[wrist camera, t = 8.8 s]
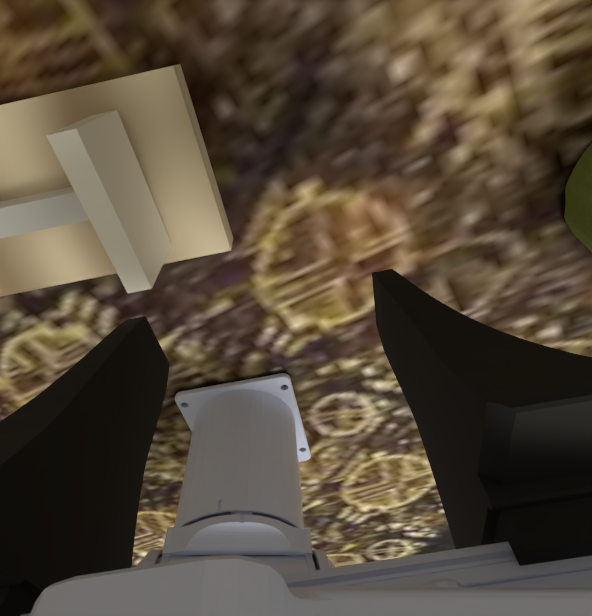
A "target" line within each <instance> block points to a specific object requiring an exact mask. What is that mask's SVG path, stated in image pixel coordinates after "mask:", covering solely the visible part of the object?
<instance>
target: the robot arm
mask: <svg viewBox="0 0 592 616" xmlns="http://www.w3.org/2000/svg"><path fill="white" fill-rule="evenodd" d="M372 278H373V289H374V301H375V312H376V324H377V328H378V332H379V335H380V338H381V342H382V345H383V348H384V351H385V354H386V356H387V358H388V360H389V363H390V365H391V367H392V369H393V372H394V374H395V376H396V378H397V380H398V382H399V385H400V387H401V389H402V391H403V393H404V395H405V398H406V400H407V402H408V404H409V406H410V409H411V411H412V414H413V416H414V418H415V421H416V424H417V427H418V430H419V433H420V436H421V439H422V442H423V445H424V448H425V451H426V454H427V457H428V460H429V463H430V466H431V469H432V472H433V476H434V479H435V482H436V485H437V488H438V492H439V495H440V498H441V501H442V505H443V508H444V511H445V514H446V518H447V521H448V524H449V528H450V531H451V535H452V538H453V542H454V545H455V548H456V549H454V550H448V551H441V552H434V553H428V554H421V555H414V556H408V557H401V558H394V559H388V560H381V561H374V562H368V563H361V564H354V565H348V566H341V567H335V566H334V565H333V563H332V562H331V561H330V560H329V559H328V557H327V555H326V553H325V552H324V551H322V550H312V544H311V533H310V530H309V529H304V524H303V510H302V497H301V483H300V470H299V462H301V461H306V460H309V459H310V458H311V452H310V448H309V445H308V441H307V437H306V434H305V430H304V426H303V423H302V419H301V415H300V412H299V408H298V404H297V401H296V397H295V394H294V390H293V386H292V383H291V379H290V376H289V375H288V374H285V373H281V374H275V375H270V376H264V377H259V378H253V379H248V380H242V381H236V382H231V383H225V384H220V385H214V386H209V387H203V388H198V389H192V390H186V391H181V392H178V393H177V394H176V396H175V402H176V404H177V405H178V407H179V409H180V411H181V413H182V415H183V417H184V419H185V420H186V422H187V424H188V426H189V428H190V430H191V432H192V438H191V443H190V448H189V453H188V458H187V464H186V469H185V474H184V479H183V484H182V490H181V495H180V500H179V505H178V510H177V516H176V521H175V526H174V528H168V529H167V533H166V538H165V543H164V548H163V550H151V551H149V552H148V553H147V555H146V556H145V558H144V559H142V560H141V561H140V562H139V563H138V564H137V566H136V567H133V568H131V565H132V556H133V546H134V536H135V528H136V521H137V513H138V506H139V499H140V493H141V487H142V481H143V475H144V469H145V465H146V461H147V457H148V453H149V449H150V446H151V442H152V439H153V435H154V432H155V428H156V425H157V422H158V418H159V415H160V411H161V407H162V404H163V400H164V397H165V393H166V387H167V380H168V371H169V362H168V360H167V358H166V356H165V354H164V352H163V350H162V348H161V346H160V344H159V342H158V341H157V339H156V337H155V335H154V333H153V331H152V329H151V327H150V325H149V323H148V321H147V319H146V317H139V318H134V319H129V320H126V321H125V322H123V323H122V324H121V325H119V326H118V327H117V328H116V329H115V330H113V331H112V332H111V333H110V334H109V335H108V336H107V337H105V338H104V339H103V340H102V341H101V342H100V343H99V344H98V345H97V346H95V347H94V348H93V349H92V350H91V351H90V352H89V353H88V354H87V355H85V356H84V357H83V358H82V359H81V360H80V361H79V362H78V363H76V364H75V365H74V366H73V367H72V368H71V369H69V370H68V371H67V372H66V373H65V374H63V375H62V376H61V377H60V378H59V379H57V380H56V381H55V382H54V383H53V384H52V385H50V386H49V387H48V388H47V389H45V390H44V391H43V392H41V393H40V394H39V395H37V396H36V397H35V398H33V399H32V400H31V401H29V402H28V403H26V404H25V405H24V406H22V407H21V408H20V409H18V410H17V411H15V412H14V413H12V414H11V415H9V416H8V417H6V418H5V419H3V420H2V421H0V616H592V357H587V356H582V355H577V354H573V353H569V352H565V351H562V350H558V349H554V348H550V347H547V346H543V345H540V344H536V343H533V342H530V341H527V340H524V339H521V338H518V337H515V336H512V335H510V334H507V333H504V332H501V331H499V330H496V329H494V328H491V327H489V326H487V325H484V324H482V323H480V322H478V321H475V320H473V319H471V318H469V317H467V316H465V315H463V314H461V313H459V312H457V311H455V310H454V309H452V308H450V307H448V306H446V305H445V304H443V303H441V302H440V301H438V300H436V299H435V298H433V297H431V296H430V295H428V294H427V293H425V292H424V291H422V290H421V289H419V288H418V287H417V286H415V285H414V284H412V283H411V282H409V281H408V280H407V279H405V278H404V277H403V276H401V275H400V274H398V273H397V272H396V271H394V270H393V269H389V270H384V271H379V272H374V273H372ZM282 385H286V386H282Z"/></svg>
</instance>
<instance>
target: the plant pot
mask: <svg viewBox="0 0 592 616" xmlns="http://www.w3.org/2000/svg"><path fill="white" fill-rule="evenodd" d="M565 196H566V204H565V214H564V218H565V221H566V223H567V225H568V227H569V228H570V230H571V231H572V232H573V234H574V235H575V236H576V237H577V238H578V239H579V240H580V241H581V242H582V243H583V244H584V245H585V246H586V247H587V248H588V249H589V250H590V251H591V252H592V143H591V145H590V146H589V147H588V148H587V149H586V151H585V152H584V153H583V155H582V156H581V157H580V159H579V160H578V162H577V164H576V165H575V167H574V169H573V171H572V173H571V175H570V177H569V179H568V182H567V185H566V189H565Z"/></svg>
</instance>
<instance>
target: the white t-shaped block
mask: <svg viewBox="0 0 592 616" xmlns="http://www.w3.org/2000/svg"><path fill="white" fill-rule="evenodd" d="M46 137H47V138H48V140H49V142H50V144H51V146H52V148H53V150H54V152H55V154H56V156H57V158H58V160H59V162H60V164H61V166H62V167H63V169H64V171H65V173H66V175H67V177H68V179H69V181H70V183H71V185H72V187H67V188H63V189H58V190H53V191H49V192H44V193H39V194H35V195H30V196H25V197H21V198H16V199H11V200H7V201H2V202H0V238H5V237H10V236H15V235H20V234H24V233H29V232H34V231H39V230H44V229H48V228H53V227H58V226H63V225H68V224H72V223H77V222H82V221H87V220H90V222H91V224H92V225H93V227H94V229H95V231H96V233H97V235H98V237H99V239H100V241H101V243H102V245H103V247H104V249H105V251H106V253H107V254H108V256H109V258H110V260H111V262H112V264H113V266H114V268H115V270H116V272H117V274H118V276H119V278H120V280H121V282H122V283H123V285H124V287H125V289H126V291H127V293H132V292H138V291H143V290H148V289H152V287H153V285H154V283H155V281H156V278H157V276H158V274H159V272H160V270H161V268H162V266H163V263H164V261H165V259H166V257H167V255H168V253H169V251H170V248H171V246H172V244H171V242H170V239H169V237H168V234H167V232H166V230H165V227H164V225H163V222H162V220H161V217H160V215H159V212H158V210H157V207H156V205H155V202H154V200H153V198H152V195H151V193H150V190H149V188H148V185H147V183H146V180H145V178H144V175H143V173H142V170H141V168H140V165H139V163H138V161H137V158H136V156H135V153H134V151H133V148H132V146H131V143H130V141H129V138H128V136H127V133H126V131H125V129H124V126H123V124H122V121H121V119H120V116H119V114H118V111H117V110H114V111H110V112H105V113H101V114H96V115H92V116H90V117H88V118H85V119H83V120H81V121H78V122H76V123H74V124H71V125H69V126H67V127H64V128H62V129H60V130H57V131H55V132H53V133H50V134H48V135H46Z"/></svg>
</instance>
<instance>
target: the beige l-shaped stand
mask: <svg viewBox="0 0 592 616" xmlns="http://www.w3.org/2000/svg"><path fill="white" fill-rule="evenodd" d="M114 110H117V111H118V114H119V116H120V119H121V121H122V124H123V126H124V129H125V131H126V133H127V136H128V138H129V141H130V143H131V146H132V148H133V151H134V153H135V156H136V158H137V161H138V163H139V165H140V168H141V170H142V173H143V175H144V178H145V180H146V183H147V185H148V188H149V190H150V193H151V195H152V198H153V200H154V202H155V205H156V207H157V210H158V212H159V215H160V217H161V220H162V222H163V225H164V227H165V230H166V232H167V234H168V237H169V239H170V242H171V244H172V246H171V248H170V251H169V253H168V255H167V257H166V259H165V261H164V263H163V264H166V263H171V262H176V261H181V260H186V259H191V258H196V257H201V256H206V255H211V254H216V253H221V252H226V251H231V248H232V242H233V235H232V232H231V229H230V226H229V222H228V219H227V216H226V212H225V209H224V206H223V203H222V199H221V196H220V193H219V189H218V186H217V183H216V179H215V176H214V173H213V170H212V166H211V163H210V160H209V156H208V153H207V150H206V147H205V143H204V140H203V137H202V133H201V130H200V127H199V123H198V120H197V117H196V114H195V110H194V107H193V104H192V100H191V97H190V94H189V91H188V87H187V84H186V81H185V77H184V74H183V71H182V67H181V64H177V65H173V66H169V67H164V68H160V69H155V70H151V71H147V72H142V73H138V74H134V75H129V76H125V77H120V78H116V79H112V80H107V81H103V82H99V83H94V84H90V85H86V86H81V87H77V88H72V89H68V90H64V91H59V92H55V93H51V94H46V95H42V96H37V97H33V98H29V99H24V100H20V101H16V102H11V103H7V104H2V105H0V202H2V201H7V200H11V199H16V198H21V197H25V196H30V195H35V194H39V193H44V192H49V191H53V190H58V189H63V188H67V187H72V185H71V183H70V181H69V179H68V177H67V175H66V173H65V171H64V169H63V167H62V166H61V164H60V162H59V160H58V158H57V156H56V154H55V152H54V150H53V148H52V146H51V144H50V142H49V140H48V138H47V137H46V135H48V134H50V133H53V132H55V131H57V130H60V129H62V128H64V127H67V126H69V125H71V124H74V123H76V122H78V121H81V120H83V119H85V118H88V117H90V116H92V115H96V114H101V113H105V112H110V111H114ZM116 273H117V272H116V270H115V268H114V266H113V264H112V262H111V260H110V258H109V256H108V254H107V253H106V251H105V249H104V247H103V245H102V243H101V241H100V239H99V237H98V235H97V233H96V231H95V229H94V227H93V225H92V224H91V222H90V220H87V221H82V222H77V223H72V224H68V225H63V226H58V227H53V228H48V229H44V230H39V231H34V232H29V233H24V234H20V235H15V236H10V237H5V238H0V296H5V295H10V294H15V293H20V292H25V291H30V290H35V289H40V288H45V287H51V286H56V285H61V284H66V283H71V282H76V281H81V280H86V279H91V278H96V277H101V276H106V275H111V274H116Z"/></svg>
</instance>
